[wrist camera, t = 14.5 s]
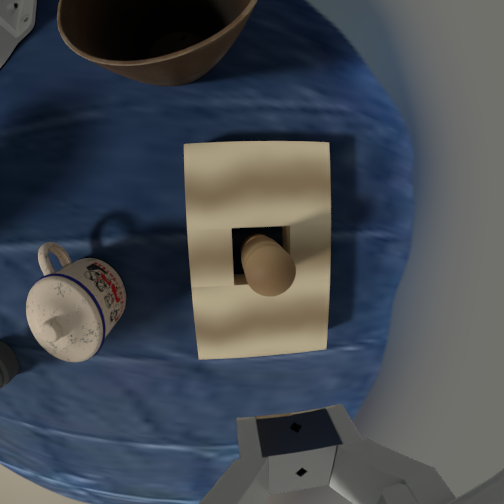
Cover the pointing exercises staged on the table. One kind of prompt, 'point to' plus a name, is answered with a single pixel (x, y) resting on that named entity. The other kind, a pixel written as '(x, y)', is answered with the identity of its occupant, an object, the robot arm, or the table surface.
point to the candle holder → (7, 364)
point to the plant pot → (153, 35)
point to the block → (258, 215)
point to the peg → (266, 265)
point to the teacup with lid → (74, 305)
